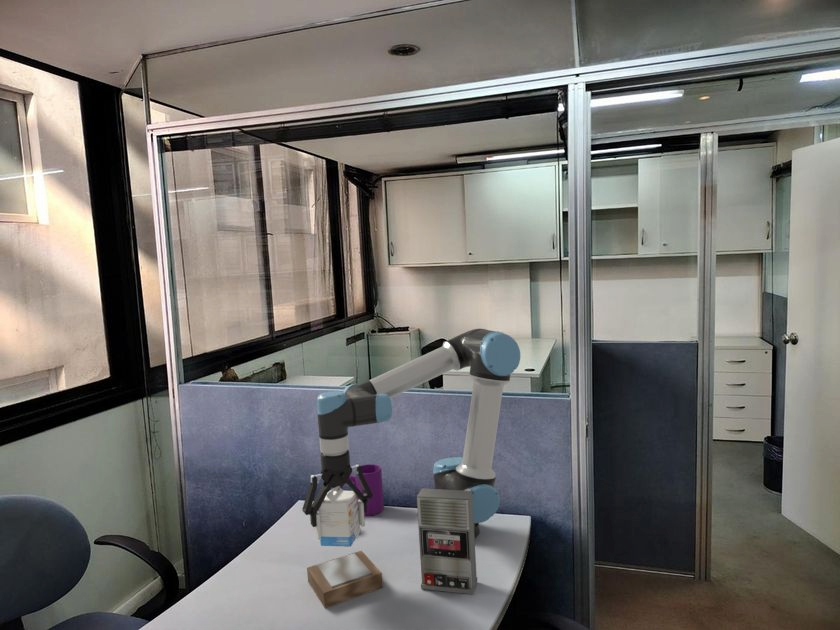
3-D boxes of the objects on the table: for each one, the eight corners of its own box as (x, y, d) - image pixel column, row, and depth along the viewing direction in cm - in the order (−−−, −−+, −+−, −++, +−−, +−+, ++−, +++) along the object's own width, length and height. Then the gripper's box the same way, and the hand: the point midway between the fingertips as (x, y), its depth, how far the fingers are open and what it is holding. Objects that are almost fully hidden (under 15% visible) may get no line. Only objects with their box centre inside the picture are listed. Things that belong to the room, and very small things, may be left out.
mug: (384, 515, 191) (381, 472, 189) (338, 519, 190) (334, 476, 188) (384, 503, 200) (381, 463, 198) (340, 507, 199) (337, 466, 197)
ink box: (350, 547, 144) (347, 497, 143) (319, 546, 146) (316, 496, 145) (360, 531, 153) (357, 484, 152) (331, 530, 154) (328, 483, 153)
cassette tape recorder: (420, 590, 146) (415, 497, 144) (426, 577, 152) (421, 488, 149) (473, 596, 142) (468, 500, 140) (477, 582, 148) (472, 491, 146)
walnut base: (362, 563, 161) (361, 549, 160) (382, 587, 148) (381, 571, 148) (308, 581, 153) (306, 566, 153) (324, 608, 141) (323, 591, 140)
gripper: (370, 438, 156) (375, 514, 158) (285, 456, 145) (292, 537, 147) (382, 445, 149) (387, 524, 152) (294, 465, 138) (300, 549, 140)
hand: (340, 531), depth 149 cm, fingers closed on ink box, 11 cm apart
